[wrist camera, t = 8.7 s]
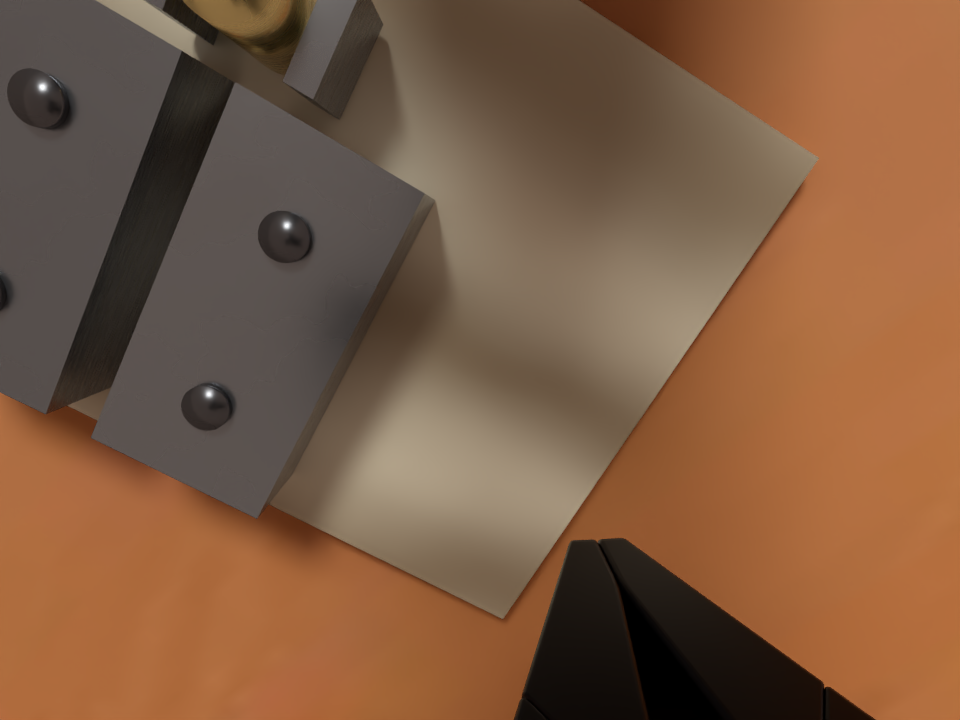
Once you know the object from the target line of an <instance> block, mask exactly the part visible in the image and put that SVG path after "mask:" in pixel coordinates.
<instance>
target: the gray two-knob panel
mask: <svg viewBox="0 0 960 720" xmlns="http://www.w3.org/2000/svg"><path fill="white" fill-rule="evenodd" d="M382 27H383V23H382V21H381V19H380V17H379V14H378V12H377V10H376V8H375V6H374V4H373V2H372V0H317V1H316V4H315V6H314V8H313V11H312V13H311V16H310V18H309V20H308V23H307V25H306V27H305V30H304V32H303V34H302V37H301V39H300V41H299V44H298V46H297V48H296V51H295V53H294V55H293V58H292V60H291V62H290V65H289V67H288V69H287V72H286V74H285V76H284V79H283V82H284V83H285V84H287V85H288V86H289V87H291V88H292V89H293V90H295V91H296V92H297V93H299V94H300V95H301V96H303V97H304V98H305V99H307V100H308V101H309V102H311V103H312V104H313V105H315V106H317V107H318V108H320V109H322V110H323V111H325V112H327V113H328V114H330V115H332V116H333V117H335V118H337V119H339V120H340V118H341V116H342V114H343V112H344V110H345V107H346V105H347V103H348V101H349V99H350V97H351V94H352V92H353V90H354V88H355V86H356V84H357V81H358V79H359V77H360V75H361V73H362V71H363V68H364V66H365V64H366V62H367V60H368V57H369V55H370V53H371V51H372V49H373V47H374V44H375V42H376V40H377V38H378V36H379V34H380V31H381V29H382ZM434 202H435V200H434V199H432V198H431V197H429V196H428V195H426V194H425V193H423V192H422V191H420V190H418V189H416V188H415V187H413V186H411V185H410V184H408V183H406V182H405V181H403V180H401V179H399V178H398V177H396V176H394V175H393V174H391V173H389V172H388V171H386V170H384V169H382V168H381V167H379V166H377V165H376V164H374V163H372V162H370V161H369V160H367V159H365V158H364V157H362V156H360V155H359V154H357V153H355V152H353V151H352V150H350V149H348V148H347V147H345V146H343V145H342V144H340V143H338V142H336V141H335V140H333V139H331V138H330V137H328V136H326V135H325V134H323V133H321V132H319V131H318V130H316V129H314V128H313V127H311V126H309V125H308V124H306V123H304V122H302V121H301V120H299V119H297V118H296V117H294V116H292V115H291V114H289V113H287V112H285V111H284V110H282V109H280V108H279V107H277V106H275V105H274V104H272V103H270V102H268V101H267V100H265V99H263V98H262V97H260V96H258V95H257V94H255V93H253V92H251V91H250V90H248V89H246V88H245V87H243V86H241V85H240V84H238V83H236V82H235V84H234V86H233V89H232V91H231V94H230V96H229V98H228V101H227V103H226V106H225V108H224V111H223V113H222V116H221V118H220V121H219V123H218V126H217V128H216V131H215V133H214V135H213V138H212V140H211V143H210V145H209V148H208V150H207V153H206V155H205V158H204V160H203V163H202V165H201V167H200V170H199V172H198V175H197V177H196V180H195V182H194V185H193V187H192V190H191V192H190V195H189V197H188V199H187V202H186V204H185V207H184V209H183V212H182V214H181V217H180V219H179V222H178V224H177V227H176V229H175V232H174V234H173V236H172V239H171V241H170V244H169V246H168V249H167V251H166V254H165V256H164V259H163V261H162V264H161V266H160V268H159V271H158V273H157V276H156V278H155V281H154V283H153V286H152V288H151V291H150V293H149V296H148V298H147V300H146V303H145V305H144V308H143V310H142V313H141V315H140V318H139V320H138V323H137V325H136V328H135V330H134V333H133V335H132V337H131V340H130V342H129V345H128V347H127V350H126V352H125V355H124V357H123V360H122V362H121V365H120V367H119V369H118V372H117V374H116V377H115V379H114V382H113V384H112V387H111V389H110V392H109V394H108V397H107V399H106V401H105V404H104V406H103V409H102V411H101V414H100V416H99V419H98V421H97V424H96V426H95V429H94V431H93V434H92V436H91V438H92V439H94V440H96V441H98V442H100V443H102V444H105V445H107V446H109V447H111V448H113V449H115V450H117V451H119V452H121V453H123V454H125V455H127V456H129V457H131V458H133V459H135V460H137V461H139V462H141V463H144V464H146V465H148V466H150V467H152V468H154V469H156V470H158V471H160V472H162V473H164V474H166V475H168V476H170V477H172V478H174V479H176V480H178V481H180V482H183V483H185V484H187V485H189V486H191V487H193V488H195V489H197V490H199V491H201V492H203V493H205V494H207V495H209V496H211V497H213V498H215V499H217V500H219V501H221V502H224V503H226V504H228V505H230V506H232V507H234V508H236V509H238V510H240V511H242V512H244V513H246V514H248V515H250V516H252V517H254V518H256V519H257V518H258V517H259V516H260V514H261V513H262V512H263V511H264V509H265V508H266V507H267V506H268V504H269V503H270V502H271V501H272V499H273V498H274V497H275V496H276V494H277V493H278V492H279V491H280V489H281V488H282V487H283V486H284V485H285V483H286V482H287V481H288V480H289V478H290V477H291V476H292V474H293V472H294V471H295V469H296V467H297V465H298V463H299V461H300V459H301V457H302V455H303V453H304V451H305V449H306V448H307V446H308V444H309V442H310V440H311V438H312V436H313V434H314V432H315V430H316V428H317V426H318V425H319V423H320V421H321V419H322V417H323V415H324V413H325V411H326V409H327V407H328V405H329V404H330V402H331V400H332V398H333V396H334V394H335V392H336V390H337V388H338V386H339V384H340V382H341V381H342V379H343V377H344V375H345V373H346V371H347V369H348V367H349V365H350V363H351V361H352V359H353V358H354V356H355V354H356V352H357V350H358V348H359V346H360V344H361V342H362V340H363V338H364V336H365V335H366V333H367V331H368V329H369V327H370V325H371V323H372V321H373V319H374V317H375V315H376V313H377V312H378V310H379V308H380V306H381V304H382V302H383V300H384V298H385V296H386V294H387V292H388V290H389V289H390V287H391V285H392V283H393V281H394V279H395V277H396V275H397V273H398V271H399V269H400V268H401V266H402V264H403V262H404V260H405V258H406V256H407V254H408V252H409V250H410V248H411V246H412V245H413V243H414V241H415V239H416V237H417V235H418V233H419V231H420V229H421V227H422V225H423V223H424V222H425V220H426V218H427V216H428V214H429V212H430V210H431V208H432V206H433V204H434Z"/></svg>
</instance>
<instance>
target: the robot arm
mask: <svg viewBox="0 0 960 720" xmlns="http://www.w3.org/2000/svg"><path fill="white" fill-rule="evenodd" d="M514 720H875V719H874V718H873V717H871V716H870V715H868V714H867V713H865V712H864V711H863V710H861V709H860V708H858V707H857V706H856V705H854V704H853V703H852V702H850V701H849V700H847V699H846V698H845V697H843V696H842V695H840V694H839V693H838V692H836V691H835V690H834V689H832V688H831V687H825V689H824V684H823V682H822V681H821V680H819V679H818V678H817V677H815V676H814V675H812V674H811V673H810V672H808V671H807V670H806V669H804V668H803V667H801V666H800V665H799V664H797V663H796V662H794V661H793V660H792V659H790V658H789V657H788V656H786V655H785V654H783V653H782V652H781V651H779V650H778V649H777V648H775V647H774V646H772V645H771V644H770V643H768V642H767V641H765V640H764V639H763V638H761V637H760V636H759V635H757V634H756V633H754V632H753V631H752V630H750V629H749V628H748V627H746V626H745V625H743V624H742V623H741V622H739V621H738V620H736V619H735V618H734V617H732V616H731V615H730V614H728V613H727V612H725V611H724V610H723V609H721V608H720V607H719V606H717V605H716V604H714V603H713V602H712V601H710V600H709V599H707V598H706V597H705V596H703V595H702V594H701V593H699V592H698V591H696V590H695V589H694V588H692V587H691V586H690V585H688V584H687V583H685V582H684V581H683V580H681V579H680V578H678V577H677V576H676V575H674V574H673V573H672V572H670V571H669V570H667V569H666V568H665V567H663V566H662V565H661V564H659V563H658V562H656V561H655V560H654V559H652V558H651V557H649V556H648V555H647V554H645V553H644V552H643V551H641V550H640V549H638V548H637V547H636V546H634V545H633V544H632V543H630V542H629V541H627V540H626V539H623V538H615V539H601V540H599V541H598V543H597V541H595V540H574V541H571V542H570V543H569V546H568V549H567V553H566V556H565V559H564V562H563V565H562V568H561V572H560V575H559V578H558V581H557V584H556V588H555V591H554V594H553V597H552V600H551V604H550V607H549V610H548V613H547V616H546V620H545V623H544V626H543V629H542V632H541V636H540V639H539V642H538V645H537V648H536V652H535V655H534V658H533V661H532V664H531V668H530V671H529V674H528V677H527V680H526V684H525V687H524V690H523V693H522V699H521V700H520V702H519V705H518V708H517V711H516V714H515V717H514Z"/></svg>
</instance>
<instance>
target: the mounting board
mask: <svg viewBox="0 0 960 720" xmlns="http://www.w3.org/2000/svg"><path fill="white" fill-rule="evenodd" d="M96 1H98V2H100V3H101V4H103V5H105V6H106V7H108V8H110V9H111V10H113V11H115V12H117V13H118V14H120V15H122V16H123V17H125V18H127V19H129V20H130V21H132V22H134V23H135V24H137V25H139V26H141V27H142V28H144V29H146V30H147V31H149V32H151V33H152V34H154V35H156V36H158V37H159V38H161V39H163V40H164V41H166V42H168V43H170V44H171V45H173V46H175V47H176V48H178V49H180V50H182V51H183V52H185V53H187V54H188V55H190V56H191V57H193V58H195V59H196V60H198V61H200V62H201V63H203V64H205V65H206V66H208V67H210V68H211V69H213V70H215V71H216V72H218V73H220V74H221V75H223V76H225V77H226V78H228V79H230V80H231V81H233V82H236V83H238V84H240V85H241V86H243V87H245V88H246V89H248V90H250V91H251V92H253V93H255V94H257V95H258V96H260V97H262V98H263V99H265V100H267V101H268V102H270V103H272V104H274V105H275V106H277V107H279V108H280V109H282V110H284V111H285V112H287V113H289V114H291V115H292V116H294V117H296V118H297V119H299V120H301V121H302V122H304V123H306V124H308V125H309V126H311V127H313V128H314V129H316V130H318V131H319V132H321V133H323V134H325V135H326V136H328V137H330V138H331V139H333V140H335V141H336V142H338V143H340V144H342V145H343V146H345V147H347V148H348V149H350V150H352V151H353V152H355V153H357V154H359V155H360V156H362V157H364V158H365V159H367V160H369V161H370V162H372V163H374V164H376V165H377V166H379V167H381V168H382V169H384V170H386V171H388V172H389V173H391V174H393V175H394V176H396V177H398V178H399V179H401V180H403V181H405V182H406V183H408V184H410V185H411V186H413V187H415V188H416V189H418V190H420V191H422V192H423V193H425V194H426V195H428V196H429V197H431V198H432V199H434V200H435V202H434V204H433V206H432V208H431V210H430V212H429V214H428V216H427V218H426V220H425V222H424V223H423V225H422V227H421V229H420V231H419V233H418V235H417V237H416V239H415V241H414V243H413V245H412V246H411V248H410V250H409V252H408V254H407V256H406V258H405V260H404V262H403V264H402V266H401V268H400V269H399V271H398V273H397V275H396V277H395V279H394V281H393V283H392V285H391V287H390V289H389V290H388V292H387V294H386V296H385V298H384V300H383V302H382V304H381V306H380V308H379V310H378V312H377V313H376V315H375V317H374V319H373V321H372V323H371V325H370V327H369V329H368V331H367V333H366V335H365V336H364V338H363V340H362V342H361V344H360V346H359V348H358V350H357V352H356V354H355V356H354V358H353V359H352V361H351V363H350V365H349V367H348V369H347V371H346V373H345V375H344V377H343V379H342V381H341V382H340V384H339V386H338V388H337V390H336V392H335V394H334V396H333V398H332V400H331V402H330V404H329V405H328V407H327V409H326V411H325V413H324V415H323V417H322V419H321V421H320V423H319V425H318V426H317V428H316V430H315V432H314V434H313V436H312V438H311V440H310V442H309V444H308V446H307V448H306V449H305V451H304V453H303V455H302V457H301V459H300V461H299V463H298V465H297V467H296V469H295V471H294V472H293V474H292V476H291V477H290V478H289V480H288V481H287V482H286V483H285V485H284V486H283V487H282V488H281V489H280V491H279V492H278V493H277V494H276V496H275V497H274V498H273V499H272V501H271V502H270V503H269V505H271V506H273V507H275V508H277V509H279V510H281V511H283V512H285V513H287V514H289V515H291V516H293V517H295V518H297V519H299V520H301V521H303V522H305V523H308V524H310V525H312V526H314V527H316V528H318V529H320V530H322V531H324V532H326V533H328V534H330V535H332V536H334V537H336V538H338V539H340V540H342V541H344V542H346V543H348V544H350V545H352V546H354V547H356V548H359V549H361V550H363V551H365V552H367V553H369V554H371V555H373V556H375V557H377V558H379V559H381V560H383V561H385V562H387V563H389V564H391V565H393V566H395V567H397V568H399V569H401V570H403V571H405V572H407V573H410V574H412V575H414V576H416V577H418V578H420V579H422V580H424V581H426V582H428V583H430V584H432V585H434V586H436V587H438V588H440V589H442V590H444V591H446V592H448V593H450V594H452V595H454V596H456V597H458V598H461V599H463V600H465V601H467V602H469V603H471V604H473V605H475V606H477V607H479V608H481V609H483V610H485V611H487V612H489V613H491V614H493V615H495V616H497V617H499V618H501V619H503V618H504V617H505V615H506V614H507V613H508V611H509V610H510V608H511V607H512V605H513V604H514V602H515V601H516V599H517V598H518V596H519V595H520V594H521V592H522V591H523V589H524V588H525V586H526V585H527V583H528V582H529V580H530V579H531V578H532V576H533V575H534V573H535V572H536V570H537V569H538V567H539V566H540V564H541V563H542V561H543V560H544V559H545V557H546V556H547V554H548V553H549V551H550V550H551V548H552V547H553V545H554V544H555V542H556V541H557V540H558V538H559V537H560V535H561V534H562V532H563V531H564V529H565V528H566V526H567V525H568V524H569V522H570V521H571V519H572V518H573V516H574V515H575V513H576V512H577V510H578V509H579V507H580V506H581V505H582V503H583V502H584V500H585V499H586V497H587V496H588V494H589V493H590V491H591V490H592V489H593V487H594V486H595V484H596V483H597V481H598V480H599V478H600V477H601V475H602V474H603V472H604V471H605V470H606V468H607V467H608V465H609V464H610V462H611V461H612V459H613V458H614V456H615V455H616V454H617V452H618V451H619V449H620V448H621V446H622V445H623V443H624V442H625V440H626V439H627V437H628V436H629V435H630V433H631V432H632V430H633V429H634V427H635V426H636V424H637V423H638V421H639V420H640V419H641V417H642V416H643V414H644V413H645V411H646V410H647V408H648V407H649V405H650V404H651V402H652V401H653V400H654V398H655V397H656V395H657V394H658V392H659V391H660V389H661V388H662V386H663V385H664V384H665V382H666V381H667V379H668V378H669V376H670V375H671V373H672V372H673V370H674V369H675V367H676V366H677V365H678V363H679V362H680V360H681V359H682V357H683V356H684V354H685V353H686V351H687V350H688V348H689V347H690V346H691V344H692V343H693V341H694V340H695V338H696V337H697V335H698V334H699V332H700V331H701V330H702V328H703V327H704V325H705V324H706V322H707V321H708V319H709V318H710V316H711V315H712V313H713V312H714V311H715V309H716V308H717V306H718V305H719V303H720V302H721V300H722V299H723V297H724V296H725V295H726V293H727V292H728V290H729V289H730V287H731V286H732V284H733V283H734V281H735V280H736V278H737V277H738V276H739V274H740V273H741V271H742V270H743V268H744V267H745V265H746V264H747V262H748V261H749V260H750V258H751V257H752V255H753V254H754V252H755V251H756V249H757V248H758V246H759V245H760V243H761V242H762V241H763V239H764V238H765V236H766V235H767V233H768V232H769V230H770V229H771V227H772V226H773V225H774V223H775V222H776V220H777V219H778V217H779V216H780V214H781V213H782V211H783V210H784V208H785V207H786V206H787V204H788V203H789V201H790V200H791V198H792V197H793V195H794V194H795V192H796V191H797V189H798V188H799V187H800V185H801V184H802V182H803V181H804V179H805V178H806V176H807V175H808V173H809V172H810V171H811V169H812V168H813V166H814V165H815V163H816V162H817V160H818V159H819V158H818V157H817V156H815V155H813V154H812V153H810V152H809V151H807V150H806V149H804V148H803V147H801V146H800V145H798V144H797V143H795V142H794V141H792V140H791V139H789V138H788V137H786V136H785V135H783V134H782V133H780V132H779V131H777V130H775V129H774V128H772V127H771V126H769V125H768V124H766V123H765V122H763V121H762V120H760V119H759V118H757V117H756V116H754V115H753V114H751V113H750V112H748V111H747V110H745V109H744V108H742V107H741V106H739V105H737V104H736V103H734V102H733V101H731V100H730V99H728V98H727V97H725V96H724V95H722V94H721V93H719V92H718V91H716V90H715V89H713V88H712V87H710V86H709V85H707V84H706V83H704V82H703V81H701V80H699V79H698V78H696V77H695V76H693V75H692V74H690V73H689V72H687V71H686V70H684V69H683V68H681V67H680V66H678V65H677V64H675V63H674V62H672V61H671V60H669V59H668V58H666V57H665V56H663V55H661V54H660V53H658V52H657V51H655V50H654V49H652V48H651V47H649V46H648V45H646V44H645V43H643V42H642V41H640V40H639V39H637V38H636V37H634V36H633V35H631V34H630V33H628V32H626V31H625V30H623V29H622V28H620V27H619V26H617V25H616V24H614V23H613V22H611V21H610V20H608V19H607V18H605V17H604V16H602V15H601V14H599V13H598V12H596V11H595V10H593V9H592V8H590V7H588V6H587V5H585V4H584V3H582V2H581V1H579V0H372V2H373V4H374V6H375V8H376V10H377V12H378V14H379V17H380V19H381V21H382V23H383V27H382V29H381V31H380V34H379V36H378V38H377V40H376V42H375V44H374V47H373V49H372V51H371V53H370V55H369V57H368V60H367V62H366V64H365V66H364V68H363V71H362V73H361V75H360V77H359V79H358V81H357V84H356V86H355V88H354V90H353V92H352V94H351V97H350V99H349V101H348V103H347V105H346V107H345V110H344V112H343V114H342V116H341V118H340V120H339V119H337V118H335V117H333V116H332V115H330V114H328V113H327V112H325V111H323V110H322V109H320V108H318V107H317V106H315V105H313V104H312V103H311V102H309V101H308V100H307V99H305V98H304V97H303V96H301V95H300V94H299V93H297V92H296V91H295V90H293V89H292V88H291V87H289V86H288V85H287V84H285V83H284V82H283V79H284V76H285V75H281V74H278V73H275V72H273V71H271V70H270V69H269V68H267V67H266V66H264V65H263V64H262V63H260V62H259V61H258V60H257V59H255V58H254V57H253V56H251V55H250V54H249V53H247V52H246V51H245V50H243V49H242V48H241V47H239V46H238V45H237V44H236V43H234V42H233V41H232V40H230V39H229V38H228V37H226V36H225V35H224V34H222V33H221V32H220V31H219V33H218V35H217V38H216V41H215V43H214V46H213V45H212V44H210V43H208V42H207V41H205V40H203V39H202V38H200V37H198V36H197V35H195V34H193V33H191V32H190V31H188V30H186V29H185V28H183V27H182V26H181V25H179V24H178V23H176V22H175V21H173V20H172V19H170V18H169V17H167V16H166V15H164V14H163V13H162V12H160V11H159V10H157V9H156V8H154V7H153V6H151V5H150V4H148V3H147V2H145V1H144V0H96ZM110 389H111V388H109V389H106V390H104V391H101V392H99V393H96V394H94V395H91V396H89V397H87V398H84V399H82V400H79V401H77V402H74V403H72V404H70V405H67V406H69V407H71V408H73V409H75V410H77V411H79V412H81V413H83V414H85V415H87V416H89V417H91V418H93V419H95V420H97V421H98V419H99V416H100V414H101V411H102V409H103V406H104V404H105V401H106V399H107V397H108V394H109V392H110Z"/></svg>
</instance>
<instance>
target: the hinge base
mask: <svg viewBox="0 0 960 720" xmlns="http://www.w3.org/2000/svg"><path fill="white" fill-rule="evenodd" d="M144 1H145V2H147V3H148V4H150V5H151V6H153V7H154V8H156V9H157V10H159V11H160V12H162V13H163V14H164V15H166V16H167V17H169V18H170V19H172V20H173V21H175V22H176V23H178V24H179V25H181V26H182V27H183V28H185V29H186V30H188V31H190V32H191V33H193V34H195V35H197V36H198V37H200V38H202V39H203V40H205V41H207V42H208V43H210V44H212V45H213V46H214V43H215V41H216V38H217V35H218V33H219V31H220V32H221V33H222V34H224V35H225V36H226V37H228V38H229V39H230V40H232V41H233V42H234V43H236V44H237V45H238V46H239V47H241V48H242V49H243V50H245V51H246V52H247V53H249V54H250V55H251V56H253V57H254V58H255V59H257V60H258V61H259V62H260V63H262V64H263V65H264V66H266V67H267V68H269V69H270V70H271V71H273V72H275V73H278V74H281V75H285V74H286V72H287V69H288V67H289V65H290V62H291V60H292V58H293V55H294V53H295V51H296V48H297V46H298V44H299V41H300V39H301V37H302V34H303V32H304V30H305V27H306V25H307V23H308V20H309V18H310V16H311V13H312V11H313V8H314V6H315V4H316V1H317V0H144ZM234 84H235V82H233V81H231V80H230V79H228V78H226V77H225V76H223V75H221V74H220V73H218V72H216V71H215V70H213V69H211V68H210V67H208V66H206V65H205V64H203V63H201V62H200V61H198V60H196V59H195V58H193V57H191V56H190V55H188V54H187V53H185V52H183V51H182V50H180V49H178V48H176V47H175V46H173V45H171V44H170V43H168V42H166V41H164V40H163V39H161V38H159V37H158V36H156V35H154V34H152V33H151V32H149V31H147V30H146V29H144V28H142V27H141V26H139V25H137V24H135V23H134V22H132V21H130V20H129V19H127V18H125V17H123V16H122V15H120V14H118V13H117V12H115V11H113V10H111V9H110V8H108V7H106V6H105V5H103V4H101V3H100V2H98V1H96V0H0V392H1V393H3V394H5V395H7V396H9V397H11V398H13V399H15V400H17V401H19V402H21V403H23V404H26V405H28V406H30V407H32V408H34V409H36V410H38V411H40V412H42V413H44V414H48V413H50V412H52V411H55V410H57V409H60V408H62V407H65V406H67V405H70V404H72V403H74V402H77V401H79V400H82V399H84V398H87V397H89V396H91V395H94V394H96V393H99V392H101V391H104V390H106V389H109V388H111V387H112V384H113V382H114V379H115V377H116V374H117V372H118V369H119V367H120V365H121V362H122V360H123V357H124V355H125V352H126V350H127V347H128V345H129V342H130V340H131V337H132V335H133V333H134V330H135V328H136V325H137V323H138V320H139V318H140V315H141V313H142V310H143V308H144V305H145V303H146V300H147V298H148V296H149V293H150V291H151V288H152V286H153V283H154V281H155V278H156V276H157V273H158V271H159V268H160V266H161V264H162V261H163V259H164V256H165V254H166V251H167V249H168V246H169V244H170V241H171V239H172V236H173V234H174V232H175V229H176V227H177V224H178V222H179V219H180V217H181V214H182V212H183V209H184V207H185V204H186V202H187V199H188V197H189V195H190V192H191V190H192V187H193V185H194V182H195V180H196V177H197V175H198V172H199V170H200V167H201V165H202V163H203V160H204V158H205V155H206V153H207V150H208V148H209V145H210V143H211V140H212V138H213V135H214V133H215V131H216V128H217V126H218V123H219V121H220V118H221V116H222V113H223V111H224V108H225V106H226V103H227V101H228V98H229V96H230V94H231V91H232V89H233V86H234Z"/></svg>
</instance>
